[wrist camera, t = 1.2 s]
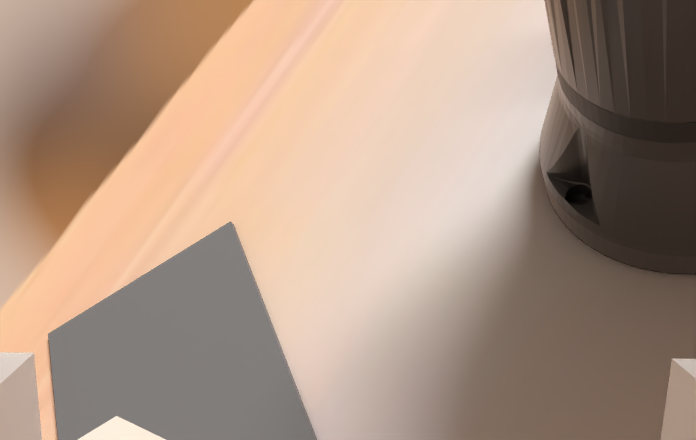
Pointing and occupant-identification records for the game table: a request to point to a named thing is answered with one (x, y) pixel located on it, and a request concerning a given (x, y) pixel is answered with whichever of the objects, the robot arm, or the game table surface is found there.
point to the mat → (180, 355)
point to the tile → (120, 431)
